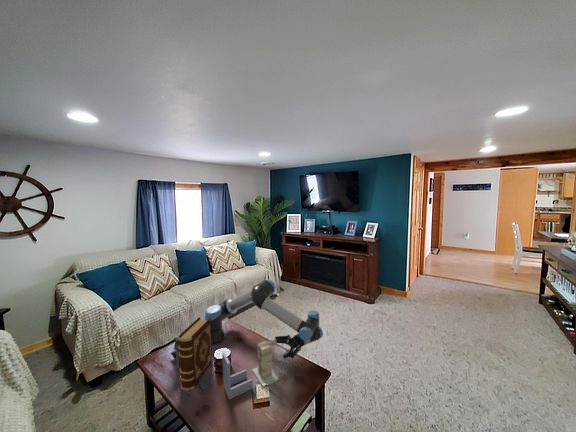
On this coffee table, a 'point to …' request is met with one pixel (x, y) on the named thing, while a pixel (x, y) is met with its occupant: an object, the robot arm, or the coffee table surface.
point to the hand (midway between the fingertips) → (272, 351)
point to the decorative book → (195, 352)
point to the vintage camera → (176, 352)
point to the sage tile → (267, 380)
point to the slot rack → (234, 380)
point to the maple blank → (264, 360)
